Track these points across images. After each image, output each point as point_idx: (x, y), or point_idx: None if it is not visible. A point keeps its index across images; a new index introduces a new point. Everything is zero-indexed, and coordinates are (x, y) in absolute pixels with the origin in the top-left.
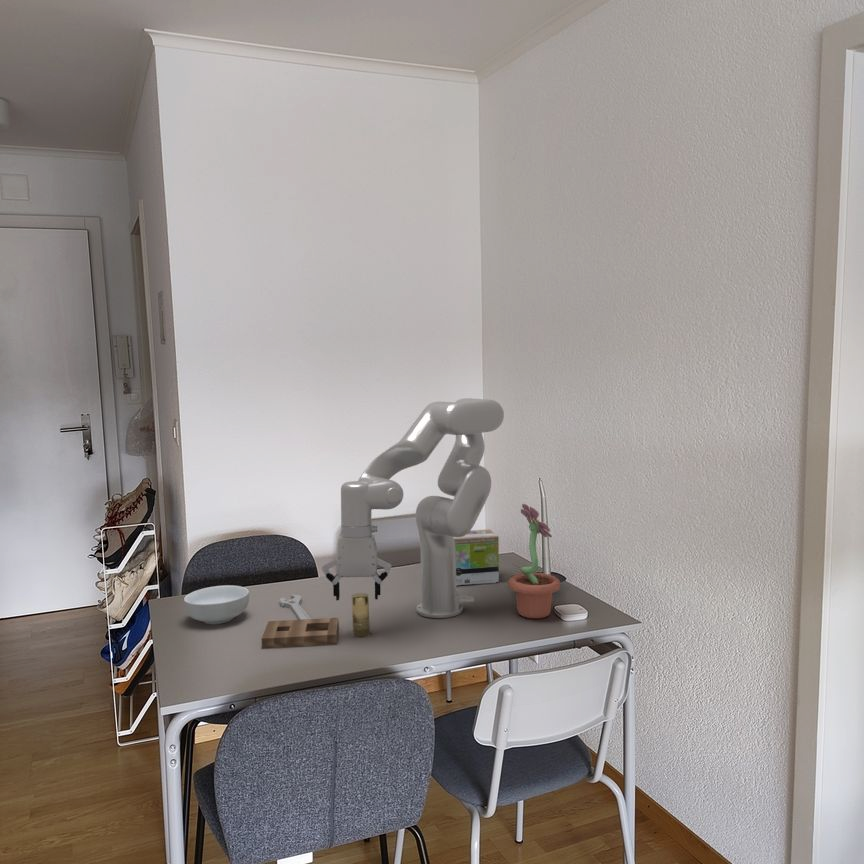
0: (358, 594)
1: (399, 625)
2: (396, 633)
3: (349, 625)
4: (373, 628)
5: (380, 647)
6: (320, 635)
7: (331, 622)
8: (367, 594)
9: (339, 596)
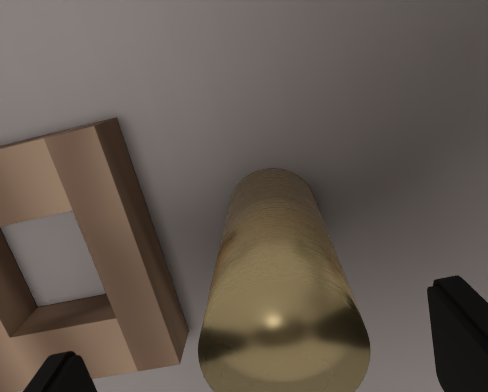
0: (257, 322)
1: (474, 61)
2: (459, 187)
3: (169, 87)
4: (320, 124)
5: (392, 348)
6: (108, 374)
7: (87, 212)
8: (355, 318)
9: (81, 366)
